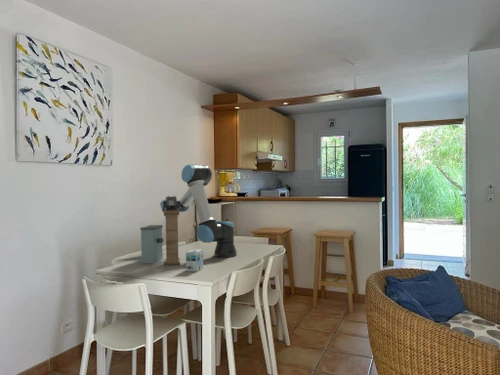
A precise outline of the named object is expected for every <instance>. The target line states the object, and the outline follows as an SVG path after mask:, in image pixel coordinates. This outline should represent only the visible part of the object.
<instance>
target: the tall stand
mask: <svg viewBox="0 0 500 375" xmlns="http://www.w3.org/2000/svg"><path fill="white" fill-rule="evenodd" d="M163 216H166V217H165V254H166V255H165V256H166V258H165V260H164V267H170V266H171V267H172V266H181V259H180V257H179V229H178V228H179V227H178V226H179V223H178V222H179V221H178V220H179V219H178V218H179V217H178V216H180V212H179V210H170V211H164V213H163Z"/></svg>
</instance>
